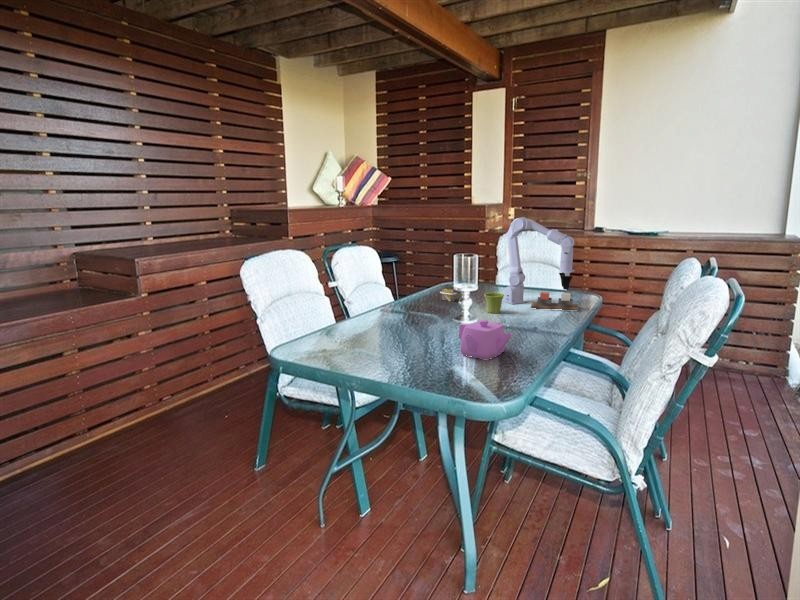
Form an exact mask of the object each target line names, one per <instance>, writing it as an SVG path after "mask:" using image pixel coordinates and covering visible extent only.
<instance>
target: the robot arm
mask: <svg viewBox="0 0 800 600" xmlns="http://www.w3.org/2000/svg"><path fill="white" fill-rule="evenodd" d="M525 230H534V231H536V232H538V233H540V234H541V235H544V236H546V238H547V240H548V241H550V242H552V243H554V244H556V245H559V246H560V247H561V250H560V251H561V252H560V263H559V272H558V274H559V276H560V283H561V287H562V289H563V290H569V288H570V283H571V281H572V279H573V276H574V275H571V273H574V272H575V271H576V270H575V269H573V262H574V261H573V259H574V245H575V239H574V238H573V237H572V236H571V235H568V234H566V233H565V234H564V233H563V232H560V231H559V229H557V228H556V229H554V228H552V229H549V228H547V227H546V226H544V225H541V224H540V223H538V222H536V221H534V220H533V219H530V218H527V217H518V218H515V219H514V220H513V221H511V223H510V226H509V229H508V230H507V233H506V237H507V238H506V239H507V247H508V254H509V263H510V270H509V277H508V283H509V285H508V286H506V287H505V289H504V296H503V299H504V300H503V302H504V303H507V304H511V305H517V304H525V302H526V303H527V301H526V300H524V288H525V284H524V282H525V281H526V275H525V273H524V272H523V268H522V265H521V258H520V250H519V249H520V248H519V240H518V236H519V235H520V234H521V233H522V232H523V231H525Z"/></svg>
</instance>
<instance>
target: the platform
mask: <svg viewBox="0 0 800 600" xmlns="http://www.w3.org/2000/svg"><path fill="white" fill-rule="evenodd" d="M439 293H440V294H441V300H444V301H448V302H455V301H456V300H455V298H456V297H455V295H457V294H458V293H457V292H454V289H449V288H443V289H442V290H440V291H439Z"/></svg>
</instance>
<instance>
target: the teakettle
mask: <svg viewBox="0 0 800 600" xmlns="http://www.w3.org/2000/svg"><path fill="white" fill-rule="evenodd" d="M512 337H513V334H512V333H510V332H506V333H505V330H504V325H503V324H501V323H500V322H498V321H497V322H496V321H493V322H489V320H487V319H479V321H475V322H472V323H466V322H465V323H463V322H462V323H460V324H459V330H458V339H460V347H459V348H460V354H461V355H462V354H463V355H467V356H472V357H475V358H481V359H490V358H493V357H495V356H498V355H499V354H501V353H502V352H504V353H505V350H506V345H507V343H508V342H509V340H510V339H511V338H512ZM463 355H462V356H463ZM501 355H502V354H501ZM467 356H466V357H467ZM498 357H499V356H498ZM475 358H474V359H475ZM493 359H494V358H493Z"/></svg>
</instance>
